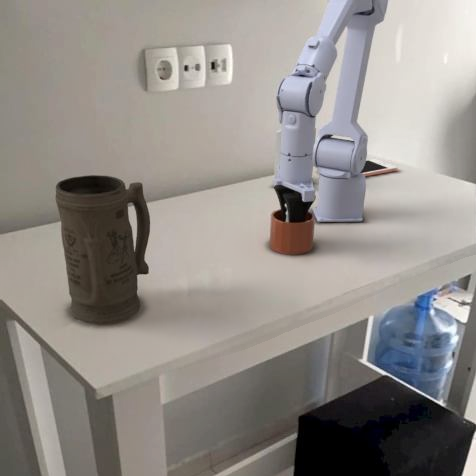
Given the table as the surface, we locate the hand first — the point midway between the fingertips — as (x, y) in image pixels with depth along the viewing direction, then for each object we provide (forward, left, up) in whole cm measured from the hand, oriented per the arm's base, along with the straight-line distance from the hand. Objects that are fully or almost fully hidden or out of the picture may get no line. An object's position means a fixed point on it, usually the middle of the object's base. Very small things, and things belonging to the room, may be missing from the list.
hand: (292, 227), depth 119 cm
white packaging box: (-5, -37, -4) cm, 38 cm away
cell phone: (-23, -47, -4) cm, 52 cm away
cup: (0, 0, -4) cm, 4 cm away
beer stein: (+31, +22, -4) cm, 38 cm away
